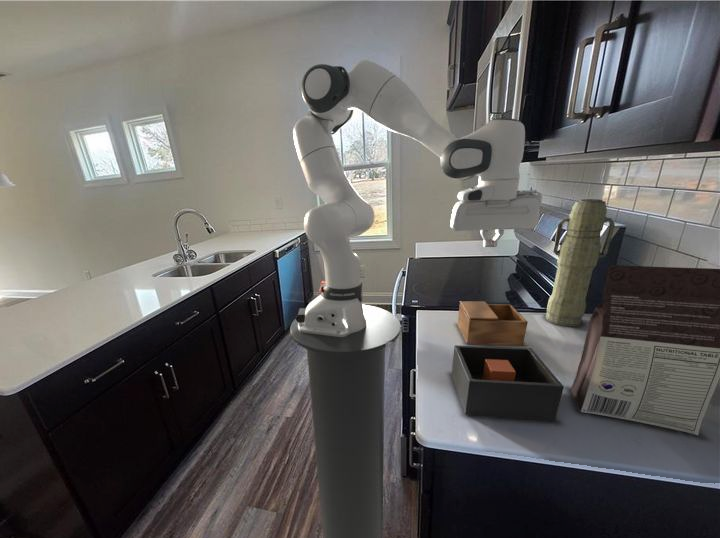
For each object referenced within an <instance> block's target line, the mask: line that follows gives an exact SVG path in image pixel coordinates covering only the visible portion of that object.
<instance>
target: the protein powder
mask: <svg viewBox="0 0 720 538" xmlns="http://www.w3.org/2000/svg"><path fill="white" fill-rule="evenodd" d="M719 381H720V268H706V267H705V268H704V267H677V266H674V267H673V266H672V267H671V266H650V265H649V266H646V265H645V266H643V265H624V264H623V265H621V264H615V265H611V266H610V267H609V268H608V271H607V276H606V281H605V285H604V289H603V295H602V297H601V301H600V302H599V304H598V305H596V307H595V308H594V311H593V313H592V315H591V316H590V319H589V323H588V327H587V331H586V336H585V341H584V345H583V349H582V354H581V357H580V361H579V364H578V367H577V371H576V374H575V377H574V380H573V383H572V385H571V387H570V389H569V390H570V391H571V394H572V395H573V398H574V400H575V402H576V405H577V408H578V410H579V413H585V414H591V415H592V414H593V415H599V416H603V417H604V416H605V417H610V418H616V419H621V420H627V421H633V422H637V423H641V424H645V425H647V424H648V425H652V426H657V427H661V428H667V429H671V430H676V431H680V432H685V433H688V434H691V435H694V436H695V435H696V436H700V429H701V426H702V422H703V420H704V417H705V414H706V412H707V410H708V406H709V404H710V402H711V400H712V397H713V395H714V392H715V391H716V387H717V385H718V383H719Z"/></svg>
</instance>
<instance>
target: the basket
mask: <svg viewBox="0 0 720 538" xmlns="http://www.w3.org/2000/svg"><path fill="white" fill-rule="evenodd" d="M485 359H493V360H508V361H509V363H510V364H511V366H512V367H513V368H514V370H515V371H516V375H515V380H514V381H497V380H482V377H483V370H484V363H485ZM451 365H452V366H451V377H452V380H453V383H454V386H455V389H456V392H457V394H458V399H459V401H460V403H461V407H462V411H463V412H464V415H466V416H477V417H478V416H479V417H491V418H505V419H518V420H531V421H545V422H556V419H557V416H558V415H557V414H558V412H559V408H560V403H561V400H562V396H563V391H564V389H565V386H564V385H563V383H562V382H561V381H560V380H559V379H558V377H556V375H555V374H554V373H553V372H552V371H551V369H550V368H549V367H548V366H547V365H546V364H545V362H544V361H543V360H542V359H541V358H540V356H538V354H537V353H536V352H535V351H534V349H533V348H532V347H517V346H515V347H512V346H489V345H487V346H485V345H483V346H482V345H457V344H456V345H455V344H454V346H453V356H452V364H451Z"/></svg>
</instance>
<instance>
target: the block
mask: <svg viewBox="0 0 720 538" xmlns="http://www.w3.org/2000/svg"><path fill="white" fill-rule="evenodd" d="M515 375H516V371H515V370H514V368H513V367H512V366H511V364H510V363H509V361H508V360H493V359H485V363H484V370H483V377H482V380H497V381H514V380H515Z"/></svg>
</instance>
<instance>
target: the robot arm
mask: <svg viewBox="0 0 720 538" xmlns="http://www.w3.org/2000/svg"><path fill="white" fill-rule="evenodd" d="M301 95H302V99H303V101H304V104H305V105H306V107H307V108H308V109H309V110H308V112H307V113H306V115H305V116H302V117H301V118H300V119H298V121H296V123H295V124H294V126H293V131H292V134H293V142H294V146H295V150H296V153H297V158H298V161H299V164H300V166H301V167H300V168H301V169H302V172H303V176H304V178H305V181H306V184H307V186H308V188H309V190H310V191H311V193H313V194H315V195H316V196H318V197H319V199H321V200H322V201H323V202H324V203H322V204H319V205H317V206H315V207H313V208H311V209H309V210H308V211H307V212H306V213H305V216H304V219H303V230H304V233H305V235H306V237H307V239H309V240H310V242H312V243H313V244H315V245H316V247H317V248H318V250H319V253H320V255H321V258H322V260H323V265H324V267H323V268H324V279H325V280H322V281H321V282H320V285H319V295H318V296H317V297H316V298H314V299H313V300H312V301H310V302H309V303H308V304H307V306H306V307H300V308H299V310H298V314H297V315H296V316H295V319H296V320H297V322H298V330H299V331H300V332H304V333H312V334H320V335H327V336H335V337H345V336H347V335H349V334H351V333H354V332H357V331H360V330H362V329H363V328H365V326H366V320H365V317H364V313H363V307H362V304H363V298H364V290H363V289H364V287H363V283H362V277H361V274H362V273H361V258H360V257H359V255H358V254H356V253H355V252H354V251H353V249H352V246H351V241H350V240H351V238H355V237H358V236H361V235H363V234H364V233H365V232H367V231H368V230H370V229H371V228H372V226H373V224H374V223H375V211H374V208H373V206H372V205H371V204H370V203H369V202H367V201H366V200H365V199H364V198H363V197H361V196H360V195H359V193H358V192H357V191H356V189H355V188H354V186H353V185H352V183H351V182H350V180H349V178H348V176H347V174H346V172H345V170H344V167H343V164H342V161H341V158H340V156H339V153H338V151H337V147H336V144H335V141H334V138H333V135H335V134H337V132H338V131H340V129H342V128H344V127H345V126H346V125H347V124H348V123H349V122H350V120H352V118H353V114H354V110H358V111H360V112H362V113H363V114H364V115H365V116H366V117H368V118H369V119H370V120H372V121H373V122H374V123H376V124H377V125H378V126H381V127H382V128H384V129H386V130H388V131H390V132H393V133H396V134H399V135H402V136H406V137H408V138H411V139H413V140H414V141H417V142H419V143H420V144H421V145H422V146H424V147H425V148H426V149H428V150H429V151H431V152H432V153H433V154H434V155H436V156H437V157H438V158H439V159H440V162H439V163H440V164H439V165H440V168H441V170H442V172H443V174H444V175H445V176H446V177H448V178H450V179H452V180H457V181H468V180H470V179H472V178H475V177H476V176H478V184H477V185H475V186H472V187H470V188H467V189H463V190H461V191H459V192H458V193H457V199H458V201H457V202H456V203H455V204H454V206H453V209H452V213H451V217H450V228H451V229H452V230H453V231H455V232H469V231H479V233H480V236H481V238H482V240H483V242H482V246H483V248H496V247H498V242H499V240H500V239H501V237H502V236H503V235H504V232H505V230H529V229H530V230H531V229H532V230H533V229H535V228H536V227H538V226H539V223H540V206H541V205H542V201H543V195H542V193H541V192H540V191H538V190H537V189H530V190H526V189H525V190H523V189H522V190H519V184H520V178H521V174H520V167H521V163H522V161H523V157H524V152H525V144H526V129H525V125H524V124H523V122H522V121H521V120H518V119H515V118H509V117H500V118H498V117H497V118H493V119H491V120H488V122H487V123H486V124H484V125H483V126H482V127H479V128H478V129H477V130H475V131H473V132H471V133H469V134H467V135H465V136H462V137H458V136H456V135H454V134H453V133H452V132H451V131H450V130H448V129H446V128H445V127H444V126H442V125H441V124H440V123H439V122H438V121H437V120H436V119H434V118H433V117H432V116H431V115H430V113H429V112H428V111H427V110H426V109H425V106H424V105H423V103H422V102H421V100H420V99H419V98H418V96H417V95H416V93H415V92H414V91H413V90H412V88H410V87H409V85H408V84H406V82H405V81H403V79H401V78H400V77H399V76H398V75H397V74H395V73H393V72H392V71H391V70H389V69H387V68H386V67H384V66H382V65H380V64H378V63H376V62H373V61H371V60H369V59H364V60H360V61H359V62H357V63H356V64H355V65H354V66H353V67H352V68H351V70H350V71H349V72H348V71H347V69H346V68H345V67H344V66H342V65H341V66H339V65H330V64H325V63H320V64H316V65H315V64H314V65H313V66H311V67H310V68H308V70H307V71H306V72H305V74H304V75H303V77H302V80H301ZM489 231H494V233H495V235H494V236H493V238H490V239H489V238H488V237H487V235H488V234H489Z"/></svg>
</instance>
